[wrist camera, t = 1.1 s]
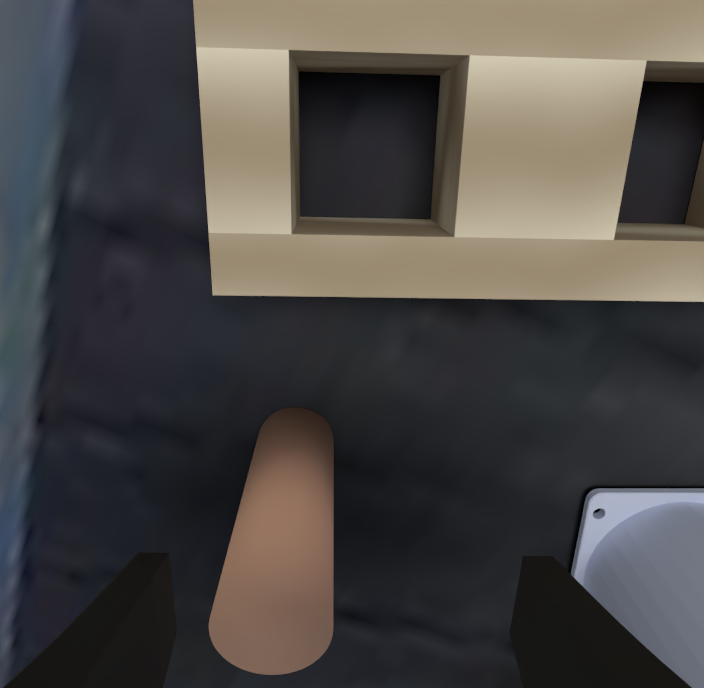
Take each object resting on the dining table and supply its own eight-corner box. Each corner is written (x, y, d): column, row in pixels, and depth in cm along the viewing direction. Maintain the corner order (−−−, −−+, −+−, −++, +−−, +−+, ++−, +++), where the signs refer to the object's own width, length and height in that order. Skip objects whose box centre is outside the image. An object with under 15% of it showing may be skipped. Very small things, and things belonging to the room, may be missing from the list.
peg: (333, 473, 22) (332, 674, 14) (259, 473, 22) (212, 675, 14) (334, 407, 21) (334, 579, 13) (256, 406, 21) (204, 580, 13)
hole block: (734, 274, 20) (827, 303, 16) (236, 266, 19) (213, 295, 15) (800, 23, 17) (930, -11, 13) (223, 5, 17) (190, -38, 13)
